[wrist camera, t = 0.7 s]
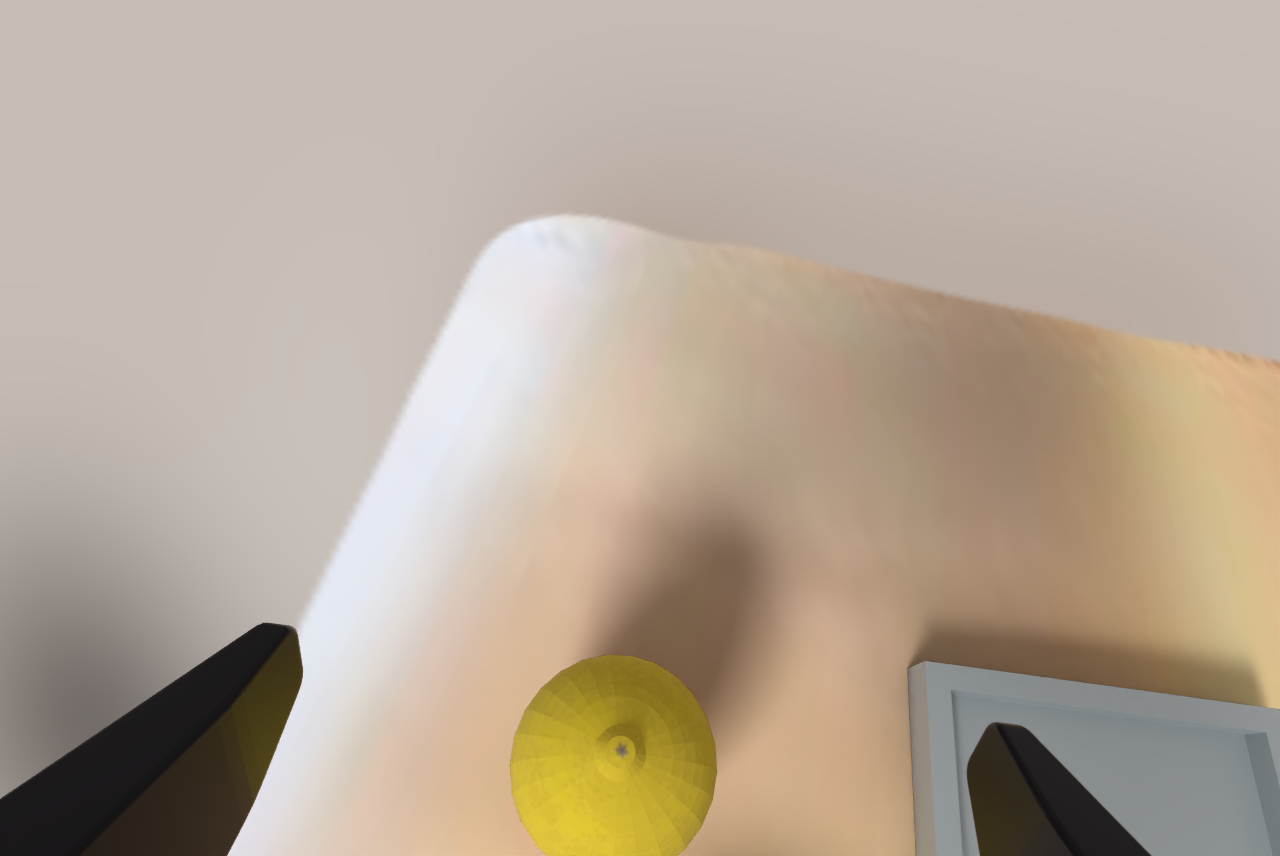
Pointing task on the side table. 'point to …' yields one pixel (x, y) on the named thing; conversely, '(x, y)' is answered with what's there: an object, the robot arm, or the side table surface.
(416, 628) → the side table surface
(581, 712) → the lemon
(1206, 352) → the side table surface
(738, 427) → the side table surface
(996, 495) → the side table surface
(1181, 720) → the tray
